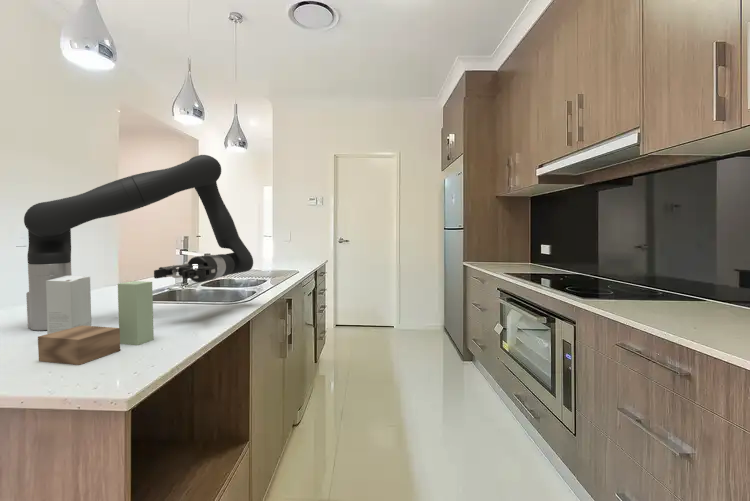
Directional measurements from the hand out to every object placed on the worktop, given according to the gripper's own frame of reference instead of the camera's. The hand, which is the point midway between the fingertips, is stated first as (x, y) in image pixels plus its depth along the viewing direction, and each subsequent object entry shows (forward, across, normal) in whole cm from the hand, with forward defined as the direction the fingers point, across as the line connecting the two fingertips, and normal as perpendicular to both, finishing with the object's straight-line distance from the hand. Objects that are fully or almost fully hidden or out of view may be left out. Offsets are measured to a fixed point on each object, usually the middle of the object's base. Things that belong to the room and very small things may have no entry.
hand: (169, 274), depth 111 cm
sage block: (+12, 0, +14) cm, 19 cm away
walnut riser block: (+24, -3, +14) cm, 28 cm away
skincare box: (+12, -18, +14) cm, 26 cm away
